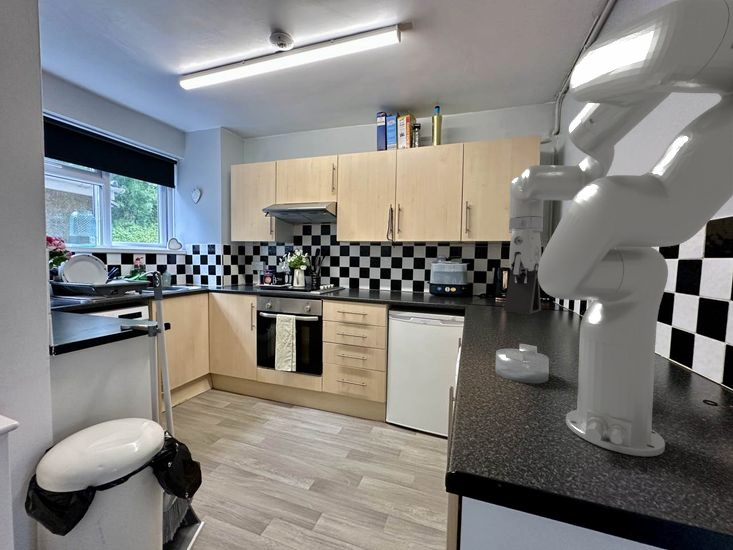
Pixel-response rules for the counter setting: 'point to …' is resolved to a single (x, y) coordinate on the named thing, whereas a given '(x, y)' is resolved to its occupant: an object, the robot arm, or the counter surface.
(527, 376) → the grey short round piece
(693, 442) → the counter surface
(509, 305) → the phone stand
